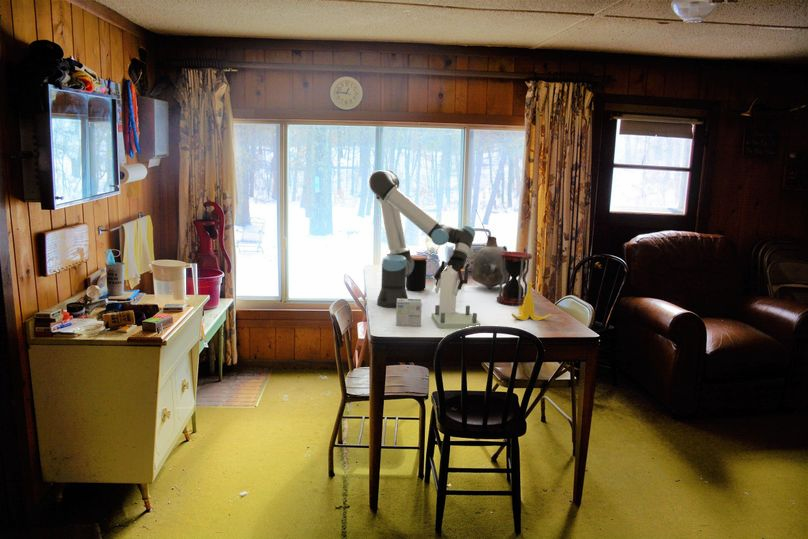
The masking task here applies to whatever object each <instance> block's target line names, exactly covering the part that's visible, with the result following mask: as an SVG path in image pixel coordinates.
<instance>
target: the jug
mask: <svg viewBox="0 0 808 539" xmlns="http://www.w3.org/2000/svg"><path fill="white" fill-rule="evenodd" d="M500 252H507V247H506V246H505V245H503V247H500V246H498V243H497V237H495V236H491V235H490V234H488V235H487V240H486V245H484V247H481V248H480V249H479V250H478V251H477V253H476V254H475V255H474V258H473V261H472V266H471V278H472V280H473V281H474V282H477V283H478V284H481V285H483V286H484V287H486V288H488V289H492V288H495V287H497V286H500V284H501V282H502V280H503V275H502V274H501V259H502V257H500ZM504 264H505V259H504V262H503V273H504V274H505V277H506V279H505V282H504V283H503V285H505V284H506V281H507V279H508V272H507V271H506V269H505V265H504Z"/></svg>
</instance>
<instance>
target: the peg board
mask: <svg viewBox="0 0 808 539" xmlns="http://www.w3.org/2000/svg"><path fill="white" fill-rule="evenodd" d="M439 307H440V306H439V304H436V305H435V309H434V310H435V311H434V312H431V319H432V321H433V322H434V324H435V325H436V327H437V328H438V329H466V328H465V327H469V326H476V325H480V326H481V322H479V321H478V313H477V312H473V313H470V311H471V306H470V305H465V313H456V312H454V313H439Z"/></svg>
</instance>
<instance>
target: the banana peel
mask: <svg viewBox="0 0 808 539" xmlns="http://www.w3.org/2000/svg"><path fill="white" fill-rule="evenodd" d="M532 285H533V283H532V282H527V294H526V296H525V299H524V302H523V305H521V306H518V315H519V316H518V315H515V314H514V313H510V315H511V316H512V317H513V318H514V319H517V320H520V321H528V319H529V318H531V320H533V321H541V320H545V319H547V318H549V317H550V316H552V313H549V314H547V315H541V316H536V315H535V302H534V297H533V293H532Z"/></svg>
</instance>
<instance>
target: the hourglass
mask: <svg viewBox="0 0 808 539" xmlns="http://www.w3.org/2000/svg"><path fill="white" fill-rule="evenodd" d="M500 257H502V259H501V274H502V275H503V280H502V282H501V284H500V285H499V292H498V294H499V295H498V296H497V297H496V302H497V303H498V304H502V305H507V306H515V307H516V306H518V307H519V306H523V302H524V299H525V296H526V294H527V292H528V282H527V281H526V276H527V274H528V273H529V270H530V269H529V267H530V260H532V258H533V255H532V253H528V252H521V251H509V250H508V251H506V252H500ZM504 259H505V264H504V265H505V269H506V271H507V272H508V279H507V281H506V284H503V283H504V282H505V279H506V277H505V274H504V273H503V262H504ZM524 271H525V272H524ZM517 278H518V279H517ZM521 280H522V282H523V283H524V287H523V285H522V284H521V283H522V282H521Z"/></svg>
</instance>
